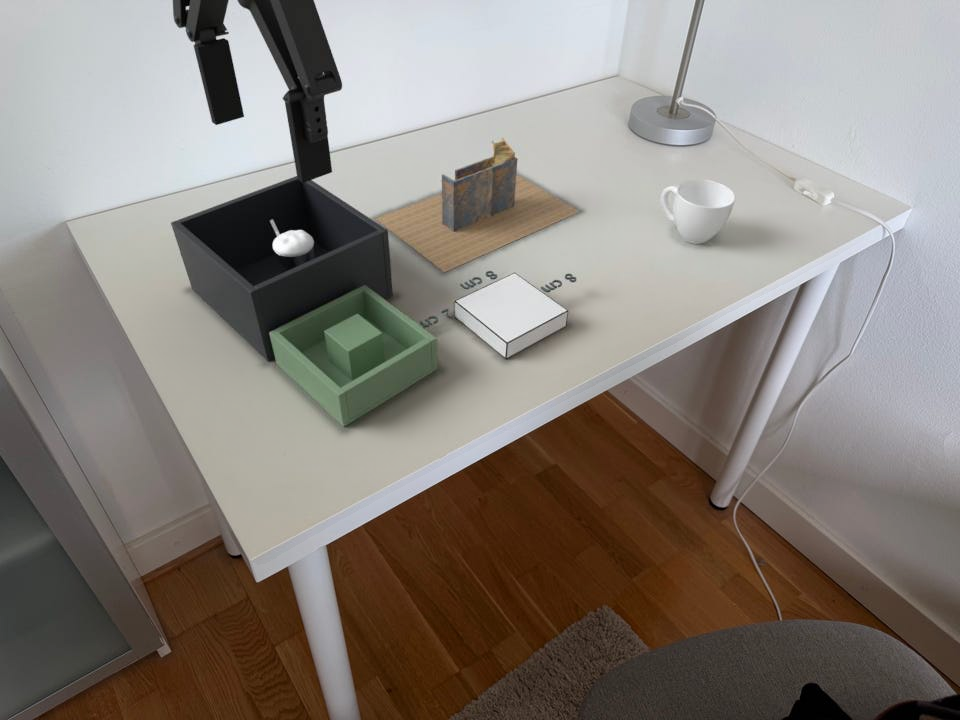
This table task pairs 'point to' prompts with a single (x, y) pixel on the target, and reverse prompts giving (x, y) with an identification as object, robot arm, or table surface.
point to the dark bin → (253, 265)
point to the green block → (355, 346)
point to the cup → (698, 208)
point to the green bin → (348, 400)
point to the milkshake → (292, 248)
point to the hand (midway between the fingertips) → (269, 146)
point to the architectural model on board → (476, 212)
